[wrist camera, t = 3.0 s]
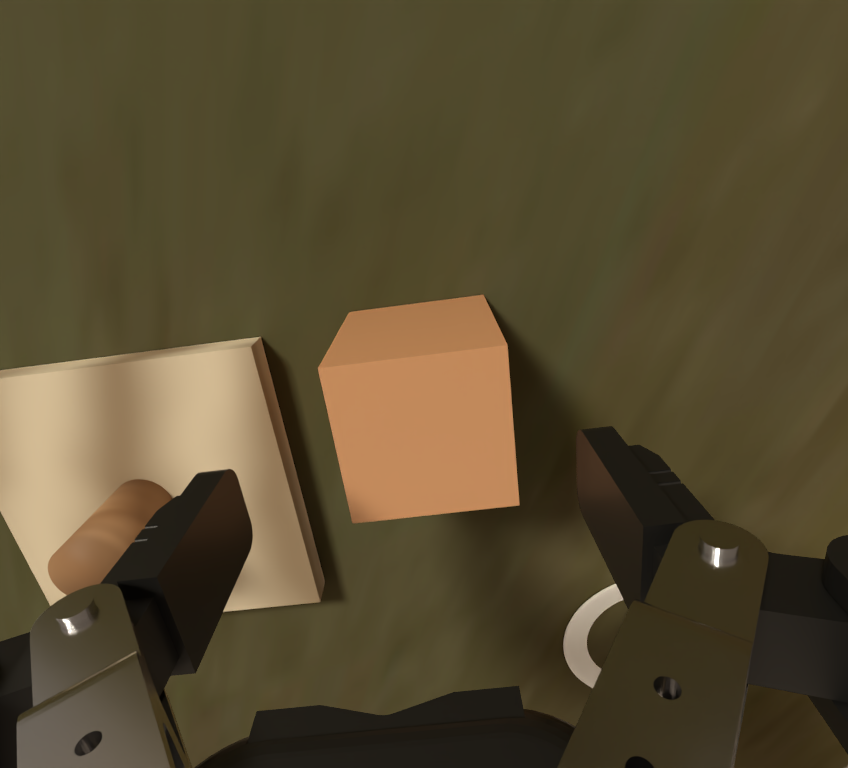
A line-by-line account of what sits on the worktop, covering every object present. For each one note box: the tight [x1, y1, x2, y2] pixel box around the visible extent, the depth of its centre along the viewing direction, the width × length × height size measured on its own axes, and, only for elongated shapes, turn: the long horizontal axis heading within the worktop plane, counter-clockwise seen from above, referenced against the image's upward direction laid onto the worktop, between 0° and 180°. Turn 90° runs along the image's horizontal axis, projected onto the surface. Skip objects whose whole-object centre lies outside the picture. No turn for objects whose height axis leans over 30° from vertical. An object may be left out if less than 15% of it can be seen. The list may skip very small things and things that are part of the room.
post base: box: [0, 337, 325, 612], centre depth 20 cm, size 12×12×5 cm
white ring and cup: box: [563, 584, 624, 688], centre depth 24 cm, size 9×8×4 cm
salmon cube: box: [318, 295, 519, 523], centre depth 17 cm, size 5×5×6 cm
